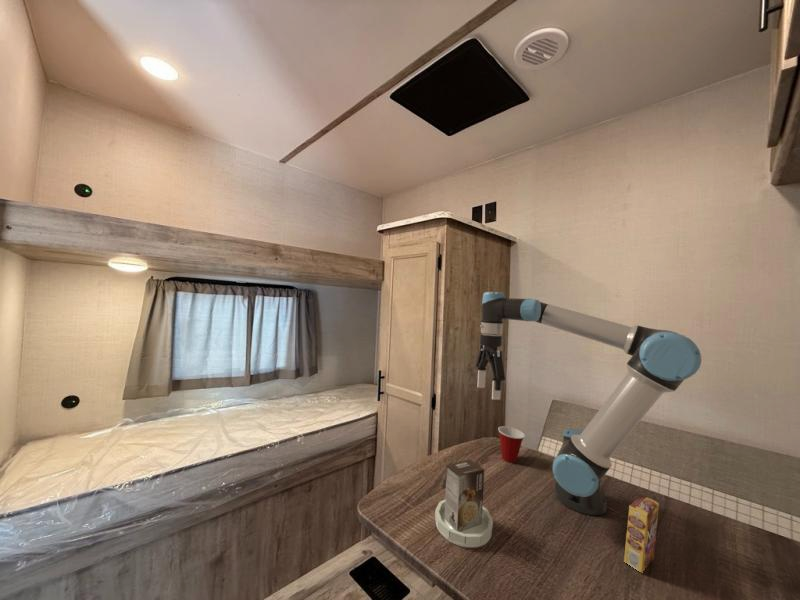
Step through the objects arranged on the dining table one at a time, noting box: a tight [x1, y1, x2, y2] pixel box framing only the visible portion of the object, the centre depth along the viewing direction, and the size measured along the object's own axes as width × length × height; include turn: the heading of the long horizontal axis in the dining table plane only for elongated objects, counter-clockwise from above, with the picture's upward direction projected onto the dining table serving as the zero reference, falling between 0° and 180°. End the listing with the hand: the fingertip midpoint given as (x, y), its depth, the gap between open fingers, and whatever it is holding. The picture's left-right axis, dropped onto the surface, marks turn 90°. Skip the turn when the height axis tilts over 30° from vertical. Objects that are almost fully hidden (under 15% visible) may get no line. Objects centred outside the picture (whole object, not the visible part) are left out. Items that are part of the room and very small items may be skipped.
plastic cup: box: [497, 425, 526, 464], centre depth 127 cm, size 11×11×12 cm
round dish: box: [434, 498, 494, 549], centre depth 88 cm, size 16×16×3 cm
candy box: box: [623, 494, 660, 574], centre depth 79 cm, size 9×4×15 cm, turn 125°
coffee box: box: [444, 459, 485, 532], centre depth 88 cm, size 9×6×16 cm
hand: (488, 393), depth 109 cm, fingers open, 13 cm apart
